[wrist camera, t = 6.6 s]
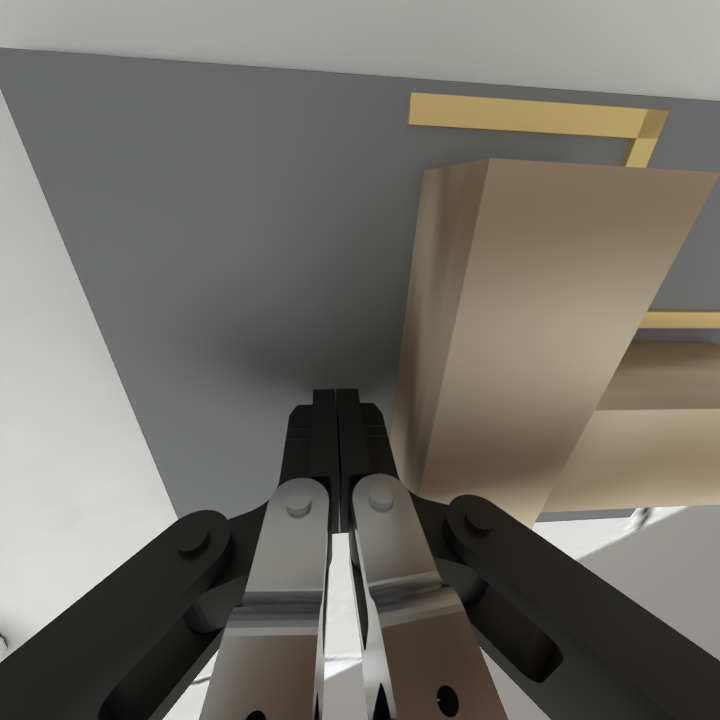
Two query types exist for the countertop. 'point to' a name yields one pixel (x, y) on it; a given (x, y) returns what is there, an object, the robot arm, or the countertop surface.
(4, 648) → the white cup
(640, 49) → the countertop surface
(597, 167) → the t block
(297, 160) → the board
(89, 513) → the countertop surface
